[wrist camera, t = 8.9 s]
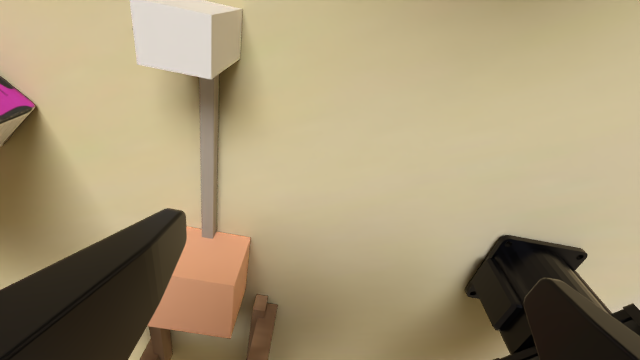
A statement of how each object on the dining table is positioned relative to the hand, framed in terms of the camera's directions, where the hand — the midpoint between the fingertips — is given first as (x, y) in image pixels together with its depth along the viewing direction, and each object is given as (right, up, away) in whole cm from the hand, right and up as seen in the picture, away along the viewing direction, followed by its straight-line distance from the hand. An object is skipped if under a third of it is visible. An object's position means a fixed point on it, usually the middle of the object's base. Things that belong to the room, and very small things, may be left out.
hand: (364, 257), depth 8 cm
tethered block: (-8, +2, +13) cm, 16 cm away
